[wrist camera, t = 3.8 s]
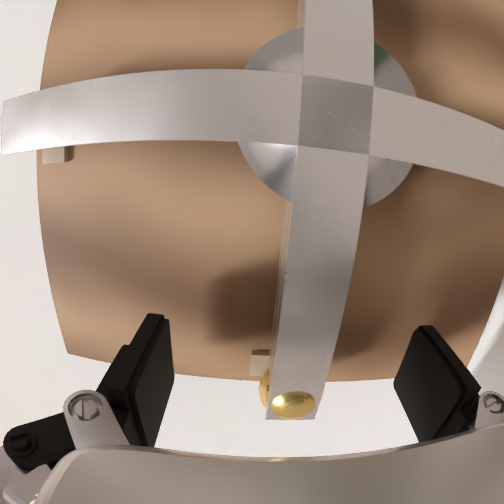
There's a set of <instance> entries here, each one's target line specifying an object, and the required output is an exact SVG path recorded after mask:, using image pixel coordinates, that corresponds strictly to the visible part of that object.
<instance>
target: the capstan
mask: <svg viewBox="0 0 504 504" xmlns="http://www.w3.org/2000/svg"><path fill="white" fill-rule="evenodd" d="M138 141H221V142H238V144H239V146H240V149H241V151H242V153H243V156H244V157H245V159H246V161H247V162H248V164H249V166H250V167H251V169H252V170H253V171H254V172H255V174H256V175H257V176H258V178H259V179H260V180H261V181H262V182H263V183H264V184H265V185H266V186H267V187H269V188H270V189H271V190H272V191H274V192H275V193H276V194H278V195H279V196H281V197H282V198H284V199H285V209H284V220H283V231H282V241H281V251H280V261H279V271H278V280H277V290H276V299H275V308H274V317H273V325H272V334H271V342H270V350H269V358H268V366H267V370H266V371H265V372H264V374H263V376H262V378H261V381H260V385H259V394H260V398H261V401H262V403H263V405H264V407H265V409H266V419H272V420H307V419H314V418H315V415H316V412H317V409H318V406H319V403H320V401H321V399H322V396H323V391H324V386H325V382H326V379H327V375H328V372H329V368H330V365H331V361H332V357H333V353H334V350H335V346H336V342H337V338H338V334H339V330H340V326H341V321H342V317H343V313H344V308H345V304H346V299H347V294H348V290H349V285H350V280H351V275H352V269H353V264H354V259H355V253H356V247H357V242H358V235H359V229H360V223H361V216H362V209H363V208H365V207H368V206H370V205H373V204H375V203H376V202H378V201H380V200H382V199H383V198H385V197H386V196H387V195H389V194H390V193H391V192H393V191H394V190H395V189H396V188H397V187H398V186H399V185H400V184H401V182H402V181H403V180H404V178H405V177H406V176H407V174H408V173H409V171H410V169H411V168H412V166H413V164H414V165H419V166H424V167H428V168H433V169H437V170H441V171H446V172H450V173H454V174H458V175H461V176H465V177H469V178H473V179H476V180H480V181H483V182H487V183H490V184H494V185H497V186H500V187H504V130H502V129H500V128H498V127H495V126H493V125H491V124H488V123H486V122H484V121H481V120H479V119H476V118H474V117H471V116H469V115H466V114H464V113H461V112H458V111H456V110H453V109H450V108H447V107H444V106H441V105H438V104H435V103H432V102H429V101H426V100H422V99H419V98H417V96H416V93H415V90H414V88H413V85H412V84H411V82H410V80H409V78H408V76H407V74H406V73H405V71H404V70H403V69H402V67H401V66H400V65H399V63H398V62H397V61H396V60H395V59H394V58H393V57H392V56H391V55H390V54H389V53H388V52H387V51H386V50H385V49H384V48H382V47H381V46H379V45H378V44H377V43H375V42H374V27H373V3H372V0H298V12H297V29H294V30H291V31H288V32H286V33H283V34H281V35H279V36H277V37H275V38H274V39H272V40H270V41H269V42H267V43H266V44H265V45H264V46H262V47H261V48H260V49H259V50H258V51H257V52H256V53H255V54H254V55H253V56H252V58H251V59H250V60H249V62H248V63H247V65H246V66H245V68H244V69H243V70H242V69H183V70H164V71H151V72H140V73H131V74H123V75H115V76H108V77H102V78H96V79H90V80H84V81H79V82H74V83H69V84H65V85H60V86H56V87H52V88H48V89H44V90H40V91H36V92H32V93H29V94H25V95H22V96H19V97H15V98H12V99H9V100H6V101H3V112H2V129H1V155H5V154H12V153H19V152H27V151H34V150H42V149H49V148H58V147H67V146H77V145H88V144H101V143H116V142H138Z"/></svg>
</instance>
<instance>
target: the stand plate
mask: <svg viewBox="0 0 504 504" xmlns="http://www.w3.org/2000/svg"><path fill="white" fill-rule="evenodd" d="M372 3H373V27H374V42H375V43H377V44H378V45H379V46H381V47H382V48H384V49H385V50H386V51H387V52H388V53H389V54H390V55H391V56H392V57H393V58H394V59H395V60H396V61H397V62H398V63H399V65H400V66H401V67H402V69H403V70H404V71H405V73H406V74H407V76H408V78H409V80H410V82H411V84H412V85H413V88H414V90H415V93H416V96H417V98H419V99H422V100H426V101H429V102H432V103H435V104H438V105H441V106H444V107H447V108H450V109H453V110H456V111H458V112H461V113H464V114H466V115H469V116H471V117H474V118H476V119H479V120H481V121H484V122H486V123H488V124H491V125H493V126H495V127H498V128H500V129H502V130H504V0H372ZM297 12H298V0H57V3H56V7H55V11H54V15H53V19H52V23H51V27H50V32H49V36H48V41H47V46H46V52H45V58H44V64H43V71H42V78H41V86H40V90H44V89H48V88H52V87H56V86H60V85H65V84H69V83H74V82H79V81H84V80H90V79H96V78H102V77H108V76H115V75H123V74H131V73H140V72H151V71H164V70H183V69H242V70H243V69H244V68H245V66H246V65H247V63H248V62H249V60H250V59H251V58H252V56H253V55H254V54H255V53H256V52H257V51H258V50H259V49H260V48H261V47H262V46H264V45H265V44H266V43H267V42H269V41H270V40H272V39H274V38H275V37H277V36H279V35H281V34H283V33H286V32H288V31H291V30H294V29H297ZM37 186H38V202H39V214H40V224H41V232H42V240H43V247H44V254H45V260H46V266H47V272H48V277H49V282H50V287H51V292H52V296H53V301H54V305H55V309H56V313H57V317H58V321H59V325H60V329H61V332H62V336H63V339H64V343H65V346H66V349H67V352H68V353H69V354H73V355H77V356H81V357H85V358H90V359H94V360H99V361H104V362H108V363H112V362H113V360H114V359H115V357H116V355H117V353H118V352H119V350H120V348H121V347H122V346H123V345H125V344H126V345H129V344H130V343H131V341H132V339H133V337H134V336H135V334H136V332H137V330H138V329H139V327H140V325H141V324H142V322H143V320H144V319H145V317H146V315H147V314H148V313H155V314H163V315H164V317H165V319H169V321H170V333H171V345H172V356H173V366H174V373H175V374H183V375H192V376H201V377H211V378H222V379H235V380H252V381H261V378H262V376H263V374H264V372H265V371H266V370H267V366H268V358H269V350H270V342H271V334H272V325H273V317H274V308H275V299H276V290H277V280H278V271H279V261H280V251H281V241H282V231H283V220H284V209H285V199H284V198H282V197H281V196H279V195H278V194H276V193H275V192H274V191H272V190H271V189H270V188H269V187H267V186H266V185H265V184H264V183H263V182H262V181H261V180H260V179H259V178H258V176H257V175H256V174H255V172H254V171H253V170H252V169H251V167H250V166H249V164H248V162H247V161H246V159H245V157H244V156H243V153H242V151H241V149H240V146H239V144H238V142H221V141H138V142H116V143H101V144H88V145H77V146H67V147H58V148H49V149H42V150H37ZM503 276H504V187H500V186H497V185H494V184H490V183H487V182H483V181H480V180H476V179H473V178H469V177H465V176H461V175H458V174H454V173H450V172H446V171H441V170H437V169H433V168H428V167H424V166H419V165H414V164H413V166H412V168H411V169H410V171H409V173H408V174H407V176H406V177H405V178H404V180H403V181H402V182H401V184H400V185H399V186H398V187H397V188H396V189H395V190H394V191H393V192H391V193H390V194H389V195H387V196H386V197H385V198H383V199H382V200H380V201H378V202H376V203H375V204H373V205H370V206H368V207H365V208H363V209H362V216H361V223H360V229H359V235H358V242H357V247H356V253H355V259H354V264H353V269H352V275H351V280H350V285H349V290H348V294H347V299H346V304H345V308H344V313H343V317H342V321H341V326H340V330H339V334H338V338H337V342H336V346H335V350H334V353H333V357H332V361H331V365H330V368H329V372H328V375H327V379H326V382H336V381H359V380H375V379H388V378H395V377H396V374H397V372H398V370H399V367H400V365H401V362H402V360H403V357H404V355H405V352H406V350H407V347H408V345H409V342H410V339H411V337H412V334H413V331H414V330H415V329H417V327H418V326H420V325H432V326H434V328H435V329H436V330H437V331H438V332H439V334H440V335H441V336H442V337H443V339H444V340H445V341H446V342H447V343H448V345H449V346H450V347H451V348H452V350H453V351H454V352H455V353H456V355H457V356H458V357H459V359H460V360H461V361H462V362H463V364H464V365H465V366H466V368H467V366H468V364H469V362H470V360H471V357H472V355H473V353H474V351H475V349H476V347H477V345H478V342H479V340H480V338H481V336H482V333H483V331H484V328H485V326H486V324H487V321H488V319H489V316H490V313H491V311H492V308H493V305H494V303H495V300H496V297H497V294H498V291H499V288H500V285H501V282H502V279H503Z"/></svg>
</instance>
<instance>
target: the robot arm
mask: <svg viewBox="0 0 504 504" xmlns="http://www.w3.org/2000/svg"><path fill="white" fill-rule="evenodd" d="M173 383H174V366H173V356H172V345H171V333H170V321H169V319H165V317H164V315H163V314H155V313H148V314H147V315H146V317H145V319H144V320H143V322H142V324H141V325H140V327H139V329H138V330H137V332H136V334H135V336H134V337H133V339H132V341H131V343H130V344H129V345H126V344H125V345H123V346H122V347H121V348H120V350H119V352H118V353H117V355H116V357H115V359H114V360H113V362H112V364H111V365H110V367H109V369H108V371H107V372H106V374H105V376H104V377H103V379H102V381H101V383H100V384H99V386H98V388H97V390H96V391H93V390H81V391H78V392H75V393H73V394H72V395H70V396H69V397H68V398H67V399H66V401H65V402H64V406H63V411H64V412H62V413H59V414H56V415H53V416H50V417H47V418H44V419H40V420H37V421H34V422H30V423H27V424H24V425H20V426H17V427H15V428H12V429H11V430H10V431H9V432H7V434H6V436H5V437H4V441H3V446H1V447H0V504H29V503H30V502H31V501H33V500H34V499H36V500H35V502H34V504H504V397H503V396H501V395H500V394H498V393H496V392H493V391H486V392H484V393H482V394H481V395H480V396H479V394H478V392H479V391H480V389H481V387H480V385H479V384H478V383H477V381H476V380H475V378H474V377H473V376H472V374H471V373H470V372H469V370H468V369H467V368H466V366H465V365H464V364H463V362H462V361H461V360H460V359H459V357H458V356H457V355H456V353H455V352H454V351H453V350H452V348H451V347H450V346H449V345H448V343H447V342H446V341H445V340H444V339H443V337H442V336H441V335H440V334H439V332H438V331H437V330H436V329H435V328H434V326H432V325H420V326H418V327H417V329H415V330H414V331H413V334H412V337H411V339H410V342H409V345H408V347H407V350H406V352H405V355H404V357H403V360H402V362H401V365H400V367H399V370H398V372H397V374H396V377H395V379H394V389H395V391H396V393H397V395H398V397H399V399H400V401H401V403H402V406H403V408H404V410H405V412H406V414H407V416H408V419H409V421H410V423H411V425H412V427H413V430H414V432H415V434H416V436H417V439H418V441H419V443H416V444H411V445H406V446H401V447H395V448H389V449H383V450H376V451H369V452H361V453H353V454H343V455H331V456H315V457H242V456H227V455H214V454H203V453H194V452H185V451H178V450H170V449H162V448H154V445H155V442H156V439H157V435H158V432H159V429H160V425H161V422H162V419H163V415H164V412H165V409H166V406H167V402H168V399H169V396H170V393H171V390H172V386H173ZM37 493H39V494H38V496H37V497H36V496H35V495H36V494H37Z"/></svg>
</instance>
